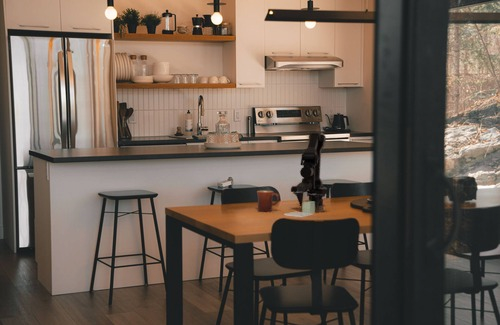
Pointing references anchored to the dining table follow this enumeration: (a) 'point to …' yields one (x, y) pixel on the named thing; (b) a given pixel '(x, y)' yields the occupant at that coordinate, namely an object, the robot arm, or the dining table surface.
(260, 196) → the mug
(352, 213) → the dining table surface
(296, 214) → the trivet
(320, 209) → the walnut block
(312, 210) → the sage block
